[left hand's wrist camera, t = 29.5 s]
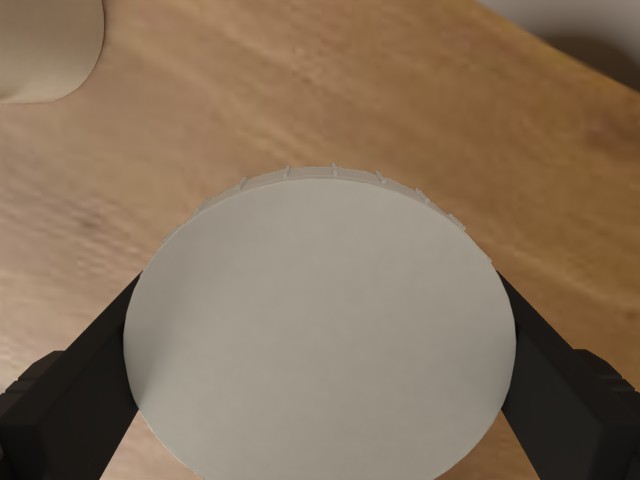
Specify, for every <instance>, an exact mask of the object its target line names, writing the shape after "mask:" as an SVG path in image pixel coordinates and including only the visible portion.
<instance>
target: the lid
mask: <svg viewBox="0 0 640 480" xmlns="http://www.w3.org/2000/svg"><path fill="white" fill-rule="evenodd" d="M194 212H195V213H194V214H193V215H192V216H191V217H190V218H189V219H188V220H187V221H186V222H185V223H184V224H183V225H182V226H180V225H179V224H178V225H177V226H176V227H175V228H174V229H173V230H172V231H171V232H170V233H169V234H168V235H167V236H166V237H165V238H164V239H163V240H162V242H163V243H164V244H163V245H162V246H161V247H160V248H159V249H158V251H157V252H156V254H155V255H154V256H153V258H152V259H151V260H150V262H149V263H148V265H147V266H146V267H145V269H144V271H143V272H142V273H141V275H140V279H139V281H138V283H137V285H136V287H135V289H134V291H133V294H132V297H131V300H130V304H129V307H128V310H127V314H126V321H125V327H124V334H123V347H124V359H125V364H126V370H127V375H128V380H129V385H130V389H131V392H132V395H133V398H134V400H135V402H136V404H137V406H138V408H139V411H140V413H141V415H142V417H143V418H144V420H145V421H146V423H147V424H148V426H149V427H150V429H151V430H152V432H153V433H154V435H155V436H156V437H157V438H158V439H159V441H160V442H161V443H162V444H163V445H164V446H165V447H166V449H167V450H168V451H169V452H170V453H171V454H173V455H174V456H175V457H176V458H177V459H178V460H179V461H180V462H181V463H183V464H184V465H185V466H186V467H188V468H189V469H190V470H192V471H193V472H195V473H196V474H198V475H199V476H200V477H202V478H203V479H205V480H434V479H435V478H437V477H438V476H440V475H442V474H443V473H445V472H446V471H448V470H449V469H450V468H452V467H453V466H454V465H455V464H456V463H458V462H459V461H460V460H461V459H462V458H464V457H465V456H466V455H467V454H468V453H469V452H470V451H471V450H472V449H473V448H474V446H475V445H476V444H477V443H478V442H479V441H480V440H481V439H482V437H483V436H484V435H485V433H486V432H487V431H488V429H489V428H490V426H491V425H492V424H493V422H494V420H495V418H496V417H497V415H498V413H499V411H500V409H501V407H502V406H503V403H504V401H505V398H506V395H507V393H508V390H509V387H510V382H511V377H512V372H513V367H514V361H515V355H516V333H515V323H514V317H513V313H512V309H511V306H510V302H509V298H508V295H507V293H506V291H505V289H504V286H503V284H502V282H501V279H500V277H499V275H498V273H497V272H496V270H495V269H494V267H493V266H492V264H491V263H492V261H491V259H490V258H489V257H488V256H487V255H486V254H485V253H484V252H483V251H482V250H481V249H480V248H479V247H478V246H477V245H476V244H475V242H474V241H473V240H472V239H471V238H470V237H469V236H468V235H467V234H466V233H465V232H464V230H466V228H465V227H464V226H463V225H462V224H461V223H460V222H459V221H458V220H457V219H456V218H455V217H454V216H453V215H452V214H451V213H450V214H448V215H447V214H446V213H445V212H443V211H442V210H441V209H440V208H439V207H437V206H436V205H435V204H434V203H433V202H432V201H430V200H429V199H428V198H427V197H426V196H425V195H424V194H423V193H422V192H421V191H420V190H419V189H418V188H416V190H415V191H414V190H412V189H411V188H409V187H407V186H404V185H402V184H400V183H398V182H395V181H393V180H391V179H389V178H386V177H383V176H382V174H381V173H380V172H378V171H376V173H375V174H372V173H369V172H366V171H362V170H355V169H349V168H342V167H336V163H332V164H331V167H326V166H308V167H299V168H291V166H290V165H287V166H286V167H285V169H283V170H279V171H275V172H271V173H267V174H263V175H259V176H257V177H254V178H252V179H249V180H248V178H247V177H244V178H243V179H242V180H241V181H240V183H239V184H236V185H235V186H233V187H231V188H229V189H228V190H226V191H224V192H222V193H220V194H219V195H217V196H215V197H214V198H212V199H210V198H209V197H208V198H207V199H205V200H204V201H203V202H202V203H201V204H200V205H199V206H198V207H197V208H196V209H195V210H194Z"/></svg>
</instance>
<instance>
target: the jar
mask: <svg viewBox="0 0 640 480" xmlns="http://www.w3.org/2000/svg"><path fill="white" fill-rule="evenodd" d="M103 38H104V12H103V6H102V0H0V105H3V104H33V103H44V102H50V101H53V100H57V99H60V98H62V97H64V96H66V95H68V94H70V93H71V92H72V91H74V90H75V89H77V88H78V87H79V86H80V85H81V84H82V83H83V82H84V81H85V80H86V79H87V77H88V76H89V75H90V73H91V72H92V70H93V68H94V66H95V64H96V63H97V61H98V58H99V55H100V52H101V48H102V43H103Z"/></svg>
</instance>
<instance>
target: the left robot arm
mask: <svg viewBox="0 0 640 480" xmlns="http://www.w3.org/2000/svg"><path fill="white" fill-rule="evenodd" d="M143 271H144V270H143ZM143 271H142V272H143ZM142 272H141V273H142ZM496 272H497V273H498V275H499V277H500V279H501V282H502V284H503V286H504V289H505V291H506V293H507V295H508V298H509V302H510V306H511V309H512V313H513V317H514V323H515V333H516V355H515V361H514V367H513V372H512V377H511V382H510V387H509V390H508V393H507V395H506V398H505V401H504V403H503V406H502V407H501V410H502V412H503V414H504V416H505V417H506V419H507V421H508V423H509V425H510V426H511V428H512V430H513V432H514V433H515V435H516V437H517V439H518V441H519V442H520V444H521V446H522V448H523V449H524V451H525V453H526V455H527V457H528V458H529V460H530V462H531V464H532V466H533V467H534V469H535V471H536V473H537V474H538V476H539V478H540V480H640V393H639V392H635V388H634V387H633V386H632V385H630V384H629V383H628V382H627V381H626V380H625V379H622V376H621V375H620V374H619V373H618V372H617V371H616V370H615V369H614V368H613V367H612V366H611V365H610V364H609V363H608V362H606V361H605V360H603V359H601V358H600V357H598V356H596V355H594V354H593V353H591V352H589V351H588V350H586V349H572V347H571V346H570V345H569V344H568V343H567V342H566V341H565V340H564V339H563V338H562V337H561V336H560V335H559V334H558V333H557V332H556V331H555V330H554V329H553V328H552V327H551V326H550V325H549V324H548V323H547V322H546V321H545V320H544V318H543V317H542V316H541V315H540V314H539V313H538V312H537V311H536V310H535V309H534V308H533V307H532V306H531V305H530V304H529V303H528V302H527V301H526V300H525V299H524V298H523V297H522V296H521V295H520V294H519V293H518V292H517V291H516V290H515V288H514V287H513V286H512V285H511V284H510V283H509V282H508V281H507V280H506V279H505V278H504V277H503V276H502V275H501V274H500V273H499V272H498V271H497V270H496ZM141 273H140V274H139V275H138V276H137V277H136V278H135V279H134V280H133V281H132V282H131V283H130V284H129V285H128V286H127V287H126V288H125V289H124V290H123V291H122V292H121V293H120V294H119V295H118V296H117V297H116V299H115V300H114V301H113V302H112V303H111V304H110V305H109V306H108V307H107V308H106V309H105V310H104V311H103V312H102V313H101V314H100V315H99V316H98V317H97V318H96V319H95V320H94V321H93V322H92V323H91V324H90V325H89V326H88V328H87V329H86V330H85V331H84V332H83V333H82V334H81V335H80V336H79V337H78V338H77V339H76V340H75V341H74V342H73V343H72V344H71V345H70V346H69V347H68V348H67V349H66V350H65V351H53V352H51V353H50V354H48V355H46V356H45V357H43V358H41V359H40V360H38V361H36V362H35V363H33V364H32V365H31V366H30V367H29V368H28V369H27V370H26V371H25V372H24V373H23V374H22V375H21V376H20V377H18V381H14V382H13V383H12V384H11V385H10V386H9V387H8V388H7V389H6V391H5V393H2V394H1V395H0V480H99V479H100V478H101V476H102V474H103V472H104V470H105V469H106V467H107V465H108V463H109V461H110V460H111V458H112V456H113V454H114V453H115V451H116V449H117V447H118V445H119V444H120V442H121V440H122V438H123V437H124V435H125V433H126V431H127V429H128V428H129V426H130V424H131V422H132V421H133V419H134V417H135V415H136V413H137V412H138V410H139V408H138V406H137V404H136V402H135V400H134V398H133V395H132V392H131V389H130V385H129V380H128V375H127V370H126V364H125V359H124V347H123V334H124V327H125V321H126V314H127V310H128V307H129V304H130V300H131V297H132V294H133V291H134V289H135V287H136V285H137V283H138V281H139V279H140V275H141Z"/></svg>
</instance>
